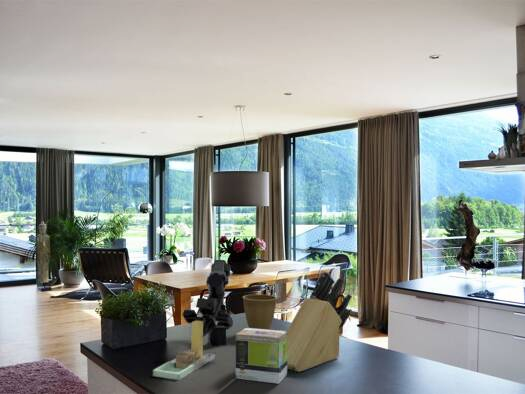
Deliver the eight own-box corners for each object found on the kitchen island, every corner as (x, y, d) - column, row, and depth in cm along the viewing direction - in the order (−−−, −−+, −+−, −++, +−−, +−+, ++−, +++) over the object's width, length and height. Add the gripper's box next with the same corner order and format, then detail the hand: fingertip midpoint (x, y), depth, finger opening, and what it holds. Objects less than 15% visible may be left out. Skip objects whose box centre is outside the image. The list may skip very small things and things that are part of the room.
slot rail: (190, 357, 184) (190, 349, 184) (215, 360, 180) (215, 353, 180) (168, 370, 170) (168, 362, 170) (194, 374, 166) (194, 366, 166)
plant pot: (276, 338, 211) (277, 300, 211) (241, 337, 211) (241, 299, 211) (276, 329, 226) (276, 294, 226) (243, 329, 226) (243, 293, 226)
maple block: (188, 360, 177) (188, 349, 177) (198, 361, 175) (198, 350, 175) (182, 363, 173) (182, 352, 173) (193, 365, 171) (193, 353, 171)
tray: (168, 370, 170) (168, 361, 170) (193, 374, 166) (193, 365, 166) (152, 379, 161) (152, 370, 161) (178, 383, 157) (178, 374, 157)
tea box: (287, 374, 167) (288, 330, 167) (278, 385, 157) (279, 337, 157) (245, 369, 172) (246, 326, 172) (234, 379, 162) (234, 333, 162)
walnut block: (181, 364, 172) (182, 352, 172) (192, 365, 171) (192, 354, 171) (175, 367, 169) (176, 355, 169) (186, 369, 167) (186, 357, 167)
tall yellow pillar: (193, 356, 180) (193, 320, 180) (204, 358, 179) (205, 321, 179) (187, 359, 177) (188, 322, 177) (199, 361, 175) (200, 323, 175)
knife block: (354, 353, 192) (354, 272, 192) (295, 375, 166) (296, 282, 166) (330, 346, 199) (330, 269, 200) (270, 367, 174) (271, 278, 174)
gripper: (185, 287, 188) (169, 323, 178) (230, 291, 182) (216, 328, 171) (194, 304, 196) (180, 340, 185) (238, 308, 189) (225, 345, 178)
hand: (199, 338), depth 180 cm, fingers closed, pressing on tall yellow pillar
